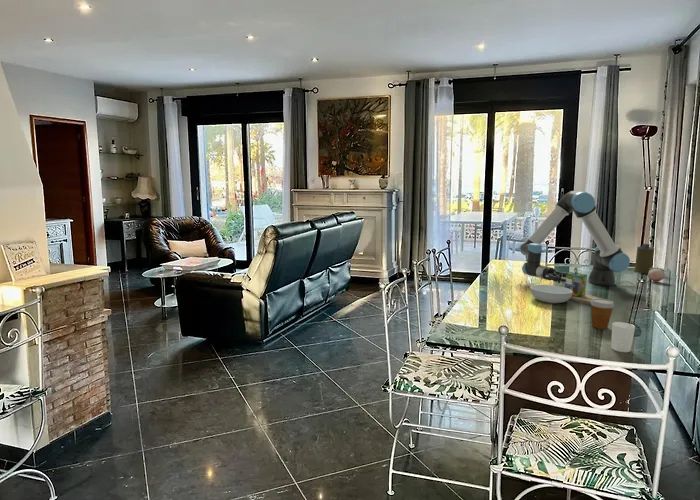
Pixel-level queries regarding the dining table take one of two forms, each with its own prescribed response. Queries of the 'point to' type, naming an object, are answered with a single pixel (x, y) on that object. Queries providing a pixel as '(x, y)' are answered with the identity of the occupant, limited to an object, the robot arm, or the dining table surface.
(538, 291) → the serving bowl
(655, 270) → the decorative fruit
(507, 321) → the dining table surface
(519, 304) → the dining table surface
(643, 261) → the canister
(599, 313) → the disposable coffee cup
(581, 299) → the oak board
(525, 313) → the dining table surface
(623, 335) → the white cup
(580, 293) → the chalk box
